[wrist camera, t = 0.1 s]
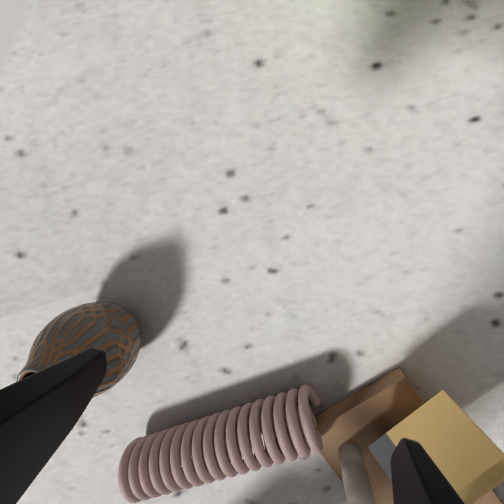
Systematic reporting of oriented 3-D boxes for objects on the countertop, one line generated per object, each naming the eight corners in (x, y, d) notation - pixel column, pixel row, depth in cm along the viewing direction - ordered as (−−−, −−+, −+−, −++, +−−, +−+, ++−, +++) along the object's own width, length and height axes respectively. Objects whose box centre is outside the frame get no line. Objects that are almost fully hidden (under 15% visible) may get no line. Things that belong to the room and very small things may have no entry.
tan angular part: (433, 513, 20) (509, 460, 19) (427, 534, 16) (520, 470, 15) (382, 442, 23) (446, 393, 22) (367, 446, 19) (442, 389, 18)
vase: (85, 286, 27) (-15, 322, 18) (157, 302, 26) (87, 347, 17) (80, 356, 28) (-17, 421, 19) (148, 373, 27) (79, 450, 18)
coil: (308, 401, 21) (102, 464, 24) (335, 466, 20) (122, 520, 24) (310, 372, 25) (135, 429, 29) (332, 425, 25) (153, 476, 28)
